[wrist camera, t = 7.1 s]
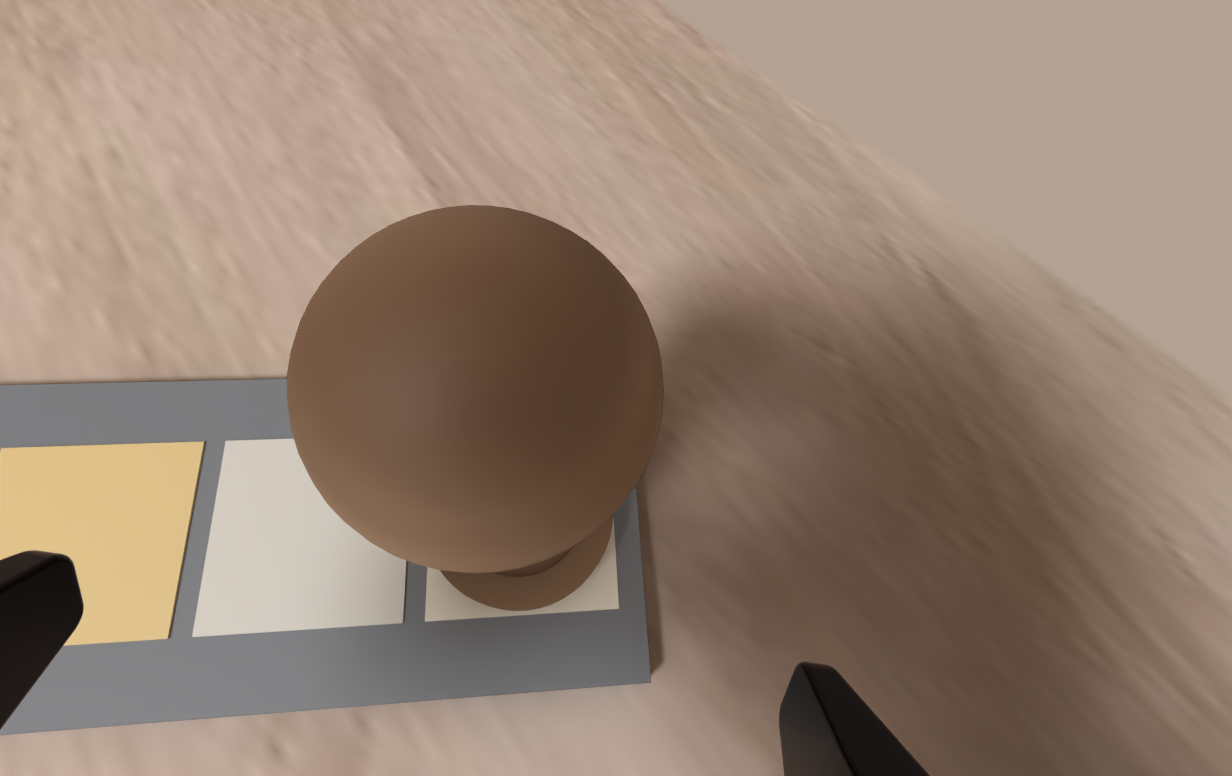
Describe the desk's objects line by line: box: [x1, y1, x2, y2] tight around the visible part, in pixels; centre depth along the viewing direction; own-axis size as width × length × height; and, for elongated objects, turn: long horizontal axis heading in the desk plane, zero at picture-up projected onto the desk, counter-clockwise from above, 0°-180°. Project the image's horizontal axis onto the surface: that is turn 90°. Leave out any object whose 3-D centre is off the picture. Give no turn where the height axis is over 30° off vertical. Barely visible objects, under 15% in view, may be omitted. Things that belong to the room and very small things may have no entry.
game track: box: [0, 379, 651, 735], centre depth 17 cm, size 24×9×1 cm, turn 94°
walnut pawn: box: [287, 205, 664, 611], centre depth 12 cm, size 5×5×12 cm
